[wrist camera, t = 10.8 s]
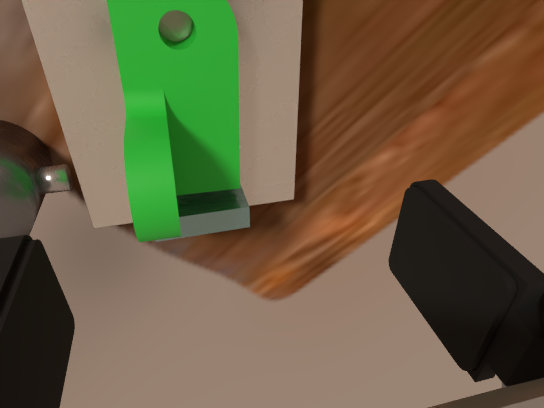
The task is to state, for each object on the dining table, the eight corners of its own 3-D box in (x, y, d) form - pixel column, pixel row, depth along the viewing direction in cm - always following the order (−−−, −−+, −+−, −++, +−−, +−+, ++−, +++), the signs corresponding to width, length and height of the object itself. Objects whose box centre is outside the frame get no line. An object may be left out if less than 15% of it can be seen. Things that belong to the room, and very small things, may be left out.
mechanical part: (234, 173, 26) (262, 247, 20) (142, 182, 25) (141, 265, 19) (229, -33, 20) (270, -19, 13) (104, -36, 18) (82, -23, 12)
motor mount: (289, -105, 21) (331, -117, 17) (282, 179, 31) (307, 222, 27) (-207, -121, 17) (-350, -146, 12) (-27, 220, 27) (-64, 282, 22)
